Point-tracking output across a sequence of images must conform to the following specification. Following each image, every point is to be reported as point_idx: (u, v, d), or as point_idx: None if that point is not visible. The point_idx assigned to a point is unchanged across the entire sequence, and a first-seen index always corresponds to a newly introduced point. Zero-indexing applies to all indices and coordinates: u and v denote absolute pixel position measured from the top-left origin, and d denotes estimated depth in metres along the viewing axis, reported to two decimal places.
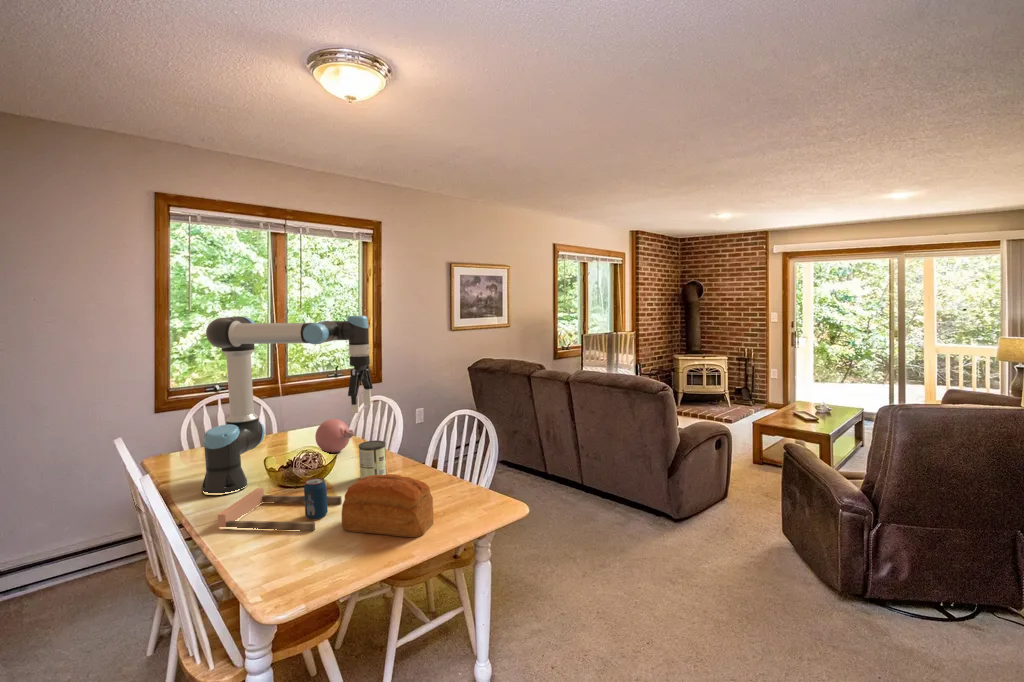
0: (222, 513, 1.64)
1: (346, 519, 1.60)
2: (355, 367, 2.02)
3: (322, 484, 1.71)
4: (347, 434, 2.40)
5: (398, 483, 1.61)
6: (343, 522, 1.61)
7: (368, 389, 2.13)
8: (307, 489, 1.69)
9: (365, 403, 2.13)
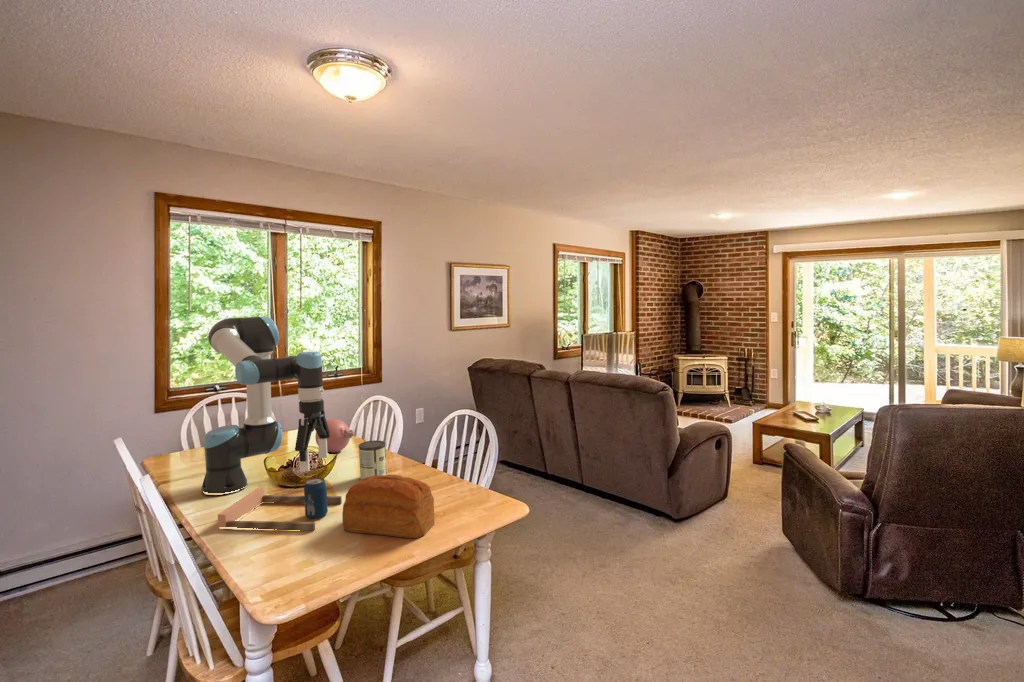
0: (222, 513, 1.64)
1: (347, 520, 1.59)
2: (305, 415, 1.67)
3: (322, 484, 1.71)
4: (347, 434, 2.40)
5: (399, 483, 1.60)
6: (344, 522, 1.61)
7: (324, 438, 1.78)
8: (307, 489, 1.69)
9: (320, 455, 1.78)
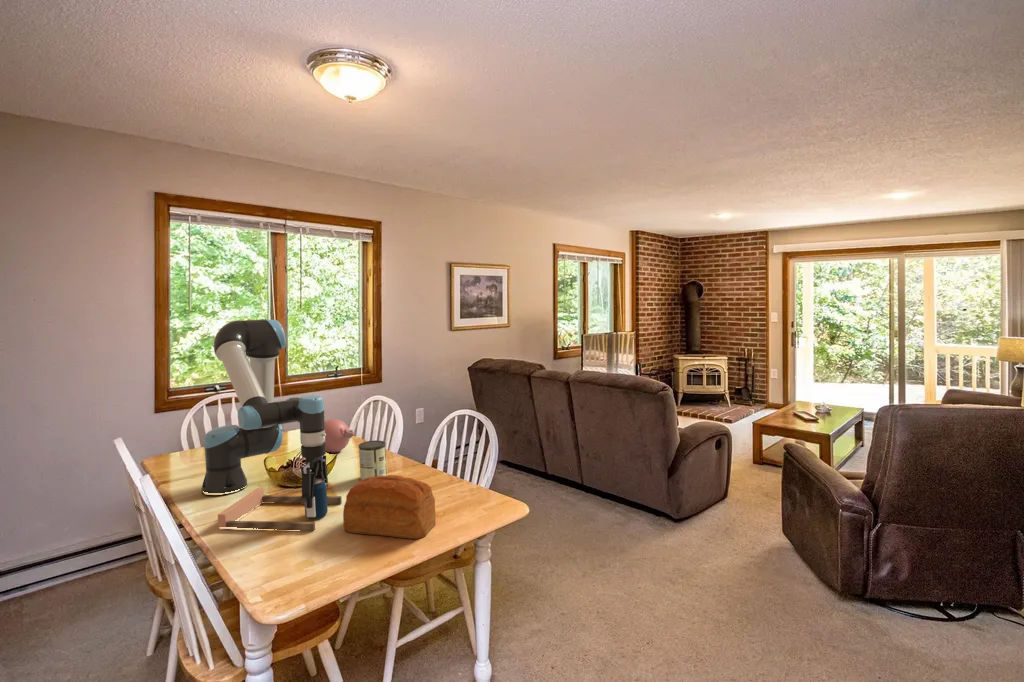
0: (222, 513, 1.64)
1: (348, 520, 1.59)
2: (307, 459, 1.68)
3: (322, 484, 1.71)
4: (347, 434, 2.40)
5: (400, 484, 1.60)
6: (345, 523, 1.60)
7: None
8: None
9: None
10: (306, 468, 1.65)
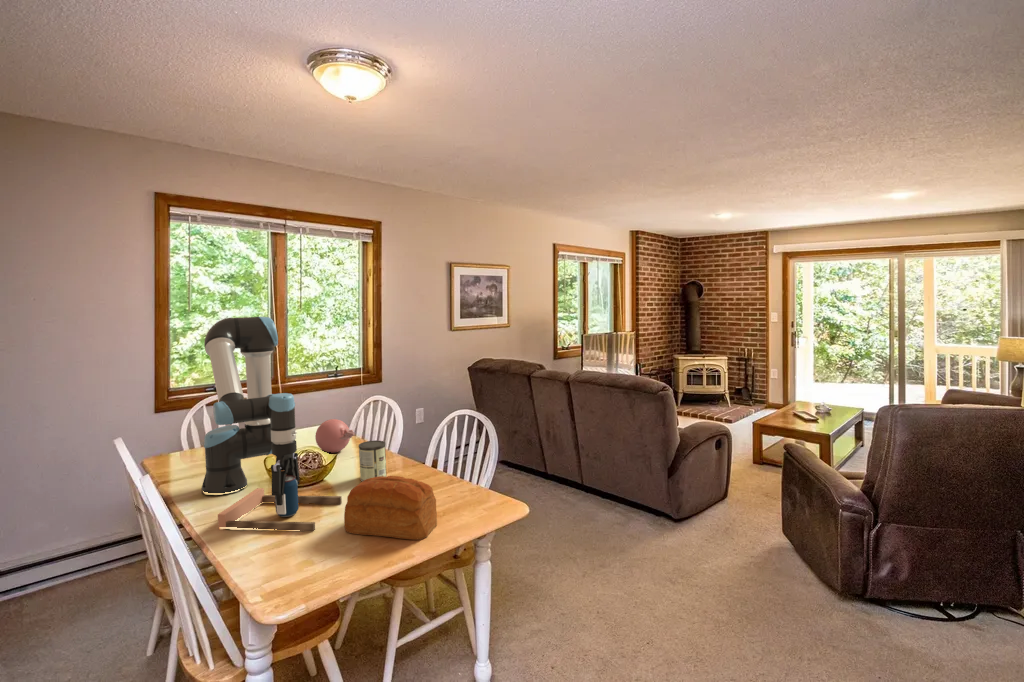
0: (222, 513, 1.64)
1: (349, 521, 1.58)
2: (277, 457, 1.69)
3: (293, 481, 1.72)
4: (347, 434, 2.40)
5: (401, 484, 1.59)
6: (346, 524, 1.59)
7: None
8: None
9: None
10: (276, 466, 1.66)
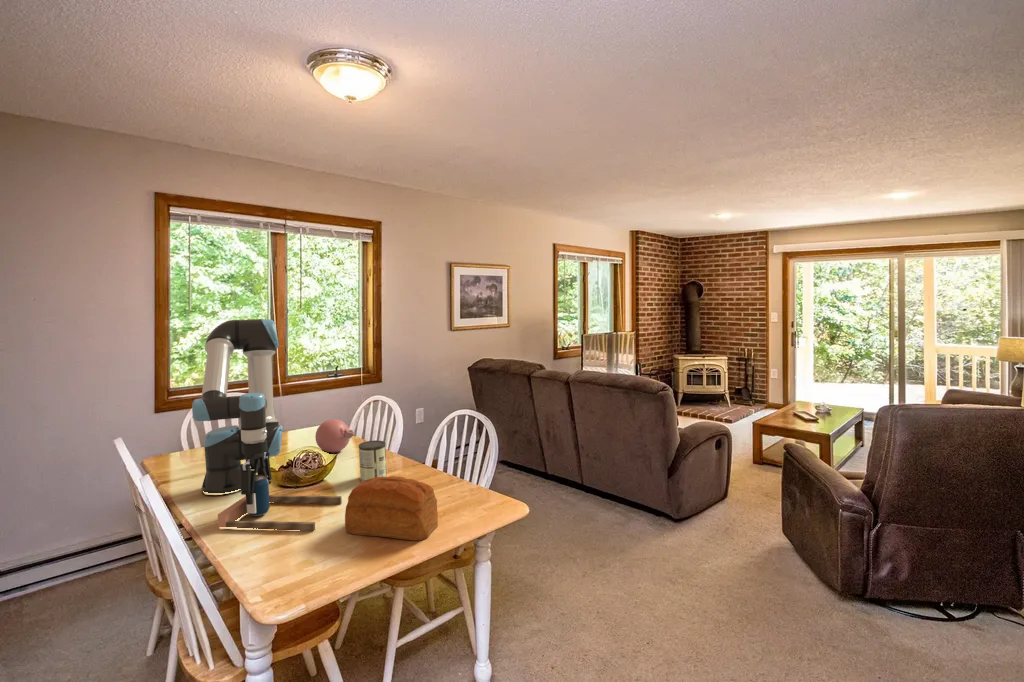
0: (222, 513, 1.64)
1: (350, 522, 1.58)
2: (247, 456, 1.69)
3: (263, 481, 1.73)
4: (347, 434, 2.40)
5: (402, 485, 1.59)
6: (346, 524, 1.59)
7: None
8: None
9: None
10: (245, 465, 1.67)
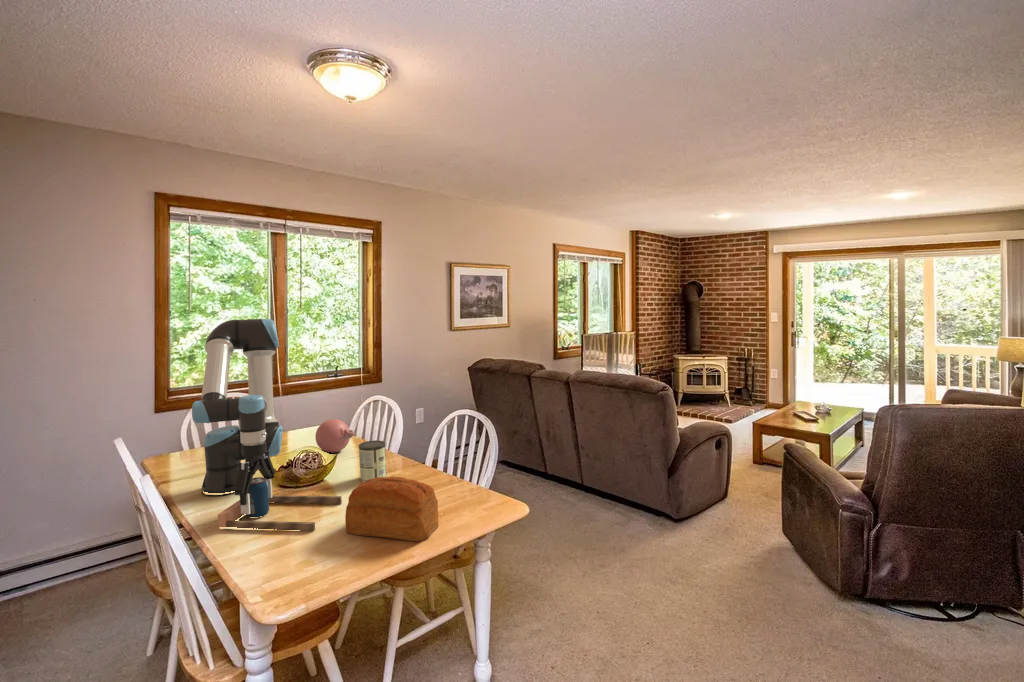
0: (222, 513, 1.64)
1: (350, 522, 1.58)
2: (246, 458, 1.69)
3: (262, 483, 1.73)
4: (347, 434, 2.40)
5: (402, 485, 1.58)
6: (347, 525, 1.59)
7: (268, 479, 1.80)
8: None
9: None
10: (244, 463, 1.67)
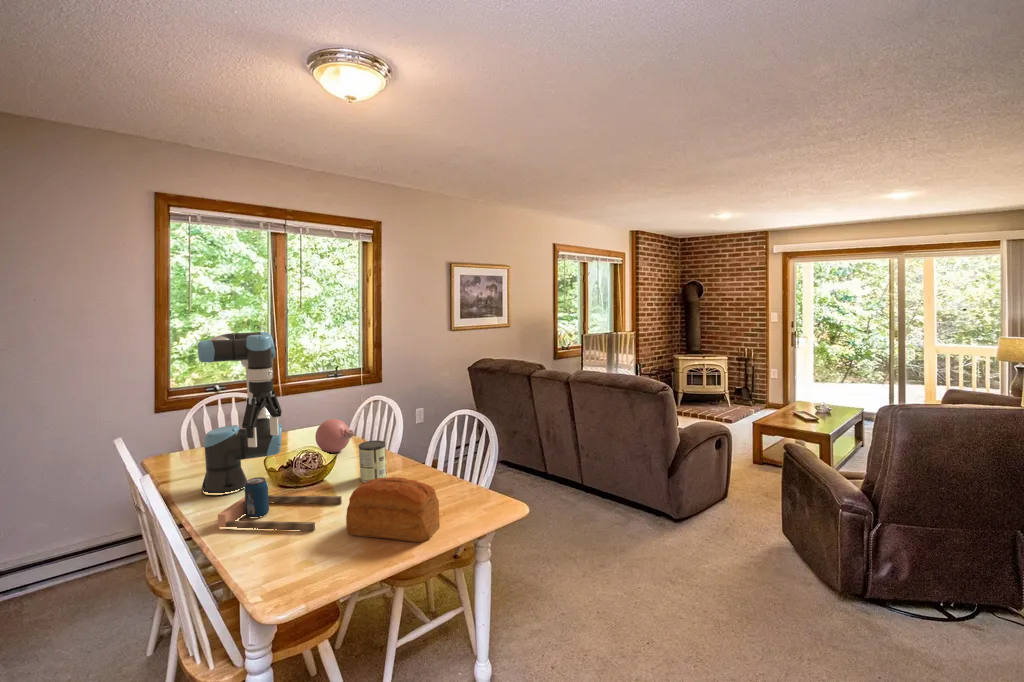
0: (222, 513, 1.64)
1: (351, 523, 1.57)
2: (254, 394, 1.76)
3: (262, 483, 1.73)
4: (347, 434, 2.40)
5: (404, 486, 1.58)
6: (348, 526, 1.58)
7: (275, 417, 1.88)
8: (247, 488, 1.71)
9: (272, 433, 1.88)
10: (252, 398, 1.74)
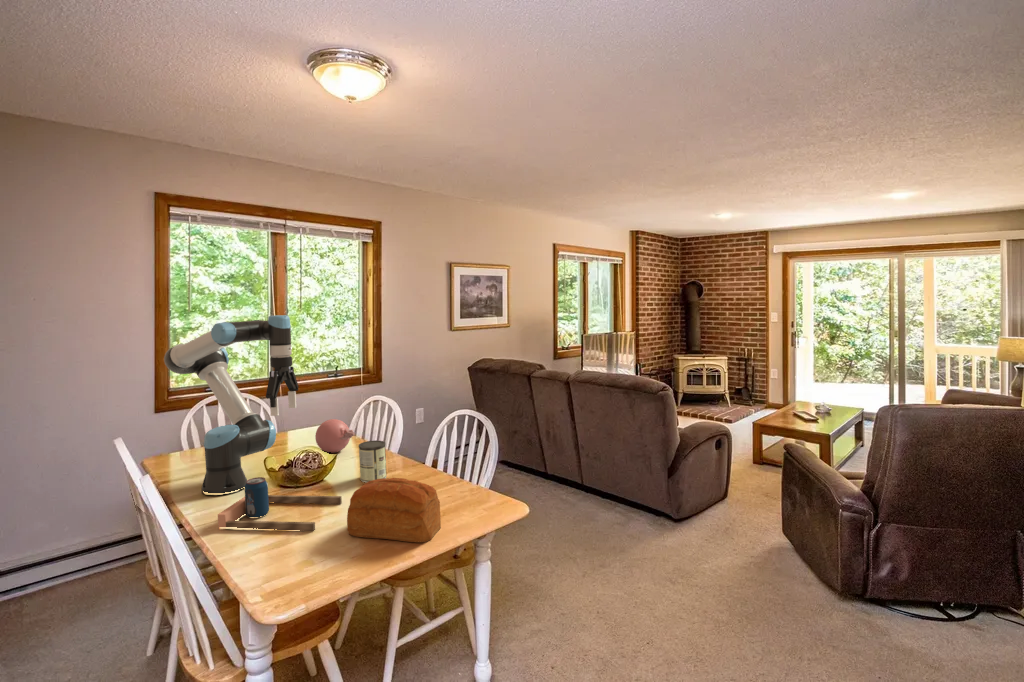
0: (222, 513, 1.64)
1: (352, 524, 1.56)
2: (275, 368, 1.95)
3: (262, 483, 1.73)
4: (347, 434, 2.40)
5: (405, 486, 1.57)
6: (349, 527, 1.57)
7: (293, 391, 2.06)
8: (247, 488, 1.71)
9: (290, 405, 2.07)
10: (274, 371, 1.92)
